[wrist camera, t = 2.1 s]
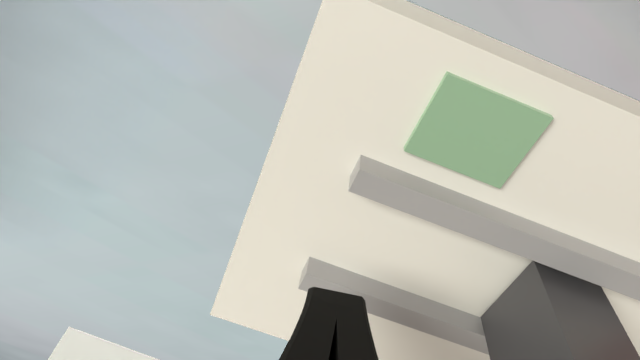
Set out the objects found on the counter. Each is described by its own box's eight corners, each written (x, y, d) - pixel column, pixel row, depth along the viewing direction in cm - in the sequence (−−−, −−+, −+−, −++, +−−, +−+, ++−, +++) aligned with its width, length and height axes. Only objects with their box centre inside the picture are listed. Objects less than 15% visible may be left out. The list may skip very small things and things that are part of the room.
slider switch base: (919, 222, 14) (1024, 288, 12) (623, 414, 21) (653, 478, 19) (335, -31, 12) (325, -10, 10) (224, 277, 19) (203, 331, 17)
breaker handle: (600, 285, 14) (661, 396, 11) (541, 338, 16) (580, 448, 13) (533, 259, 14) (577, 366, 11) (480, 316, 15) (505, 423, 12)
